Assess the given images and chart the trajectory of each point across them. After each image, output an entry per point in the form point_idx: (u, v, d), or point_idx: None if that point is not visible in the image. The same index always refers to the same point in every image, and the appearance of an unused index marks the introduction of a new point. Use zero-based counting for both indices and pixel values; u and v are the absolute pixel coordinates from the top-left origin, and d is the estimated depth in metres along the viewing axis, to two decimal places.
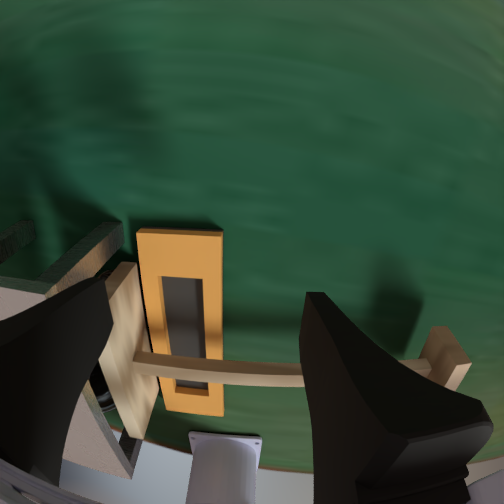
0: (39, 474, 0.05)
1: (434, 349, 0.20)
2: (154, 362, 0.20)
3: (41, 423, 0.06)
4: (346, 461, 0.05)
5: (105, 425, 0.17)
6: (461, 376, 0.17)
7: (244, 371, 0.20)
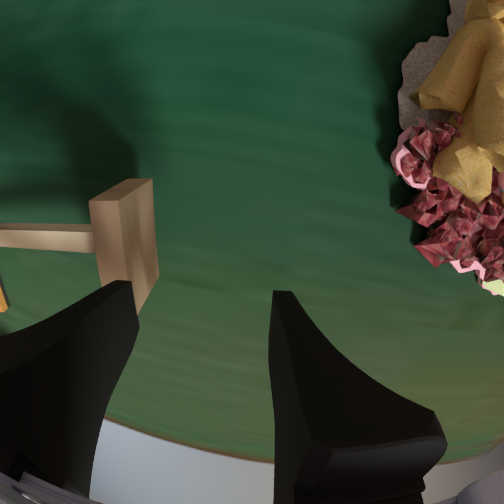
0: (70, 487, 0.05)
1: None
2: None
3: (73, 434, 0.06)
4: (290, 464, 0.05)
5: None
6: (115, 229, 0.13)
7: None
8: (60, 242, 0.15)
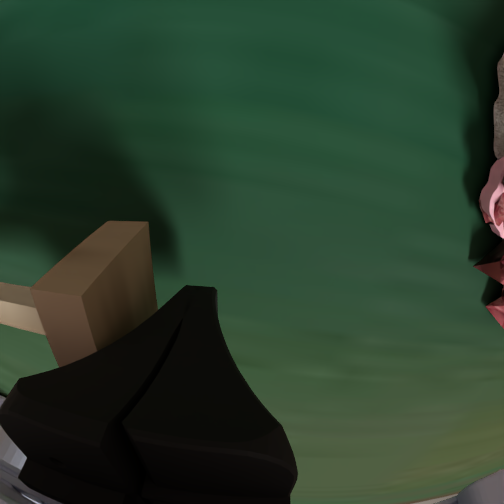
0: None
1: None
2: None
3: None
4: None
5: None
6: (84, 342, 0.06)
7: None
8: (16, 317, 0.09)
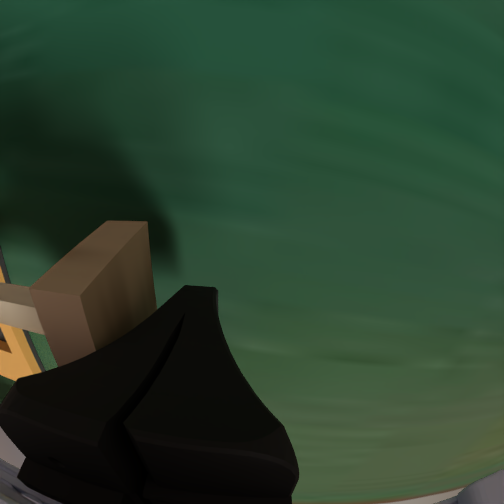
0: None
1: None
2: None
3: None
4: None
5: None
6: (83, 341, 0.06)
7: None
8: (16, 317, 0.09)
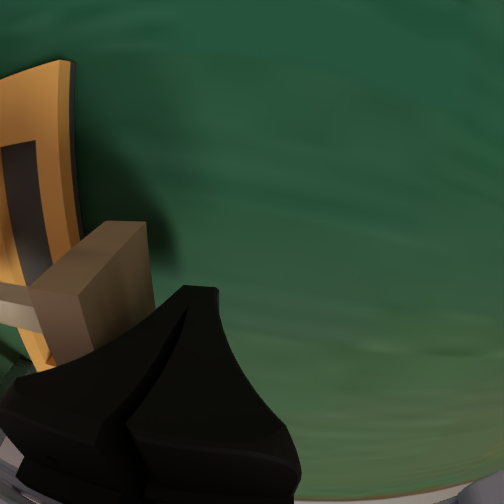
0: None
1: None
2: None
3: None
4: None
5: None
6: (81, 341, 0.06)
7: None
8: (15, 317, 0.09)
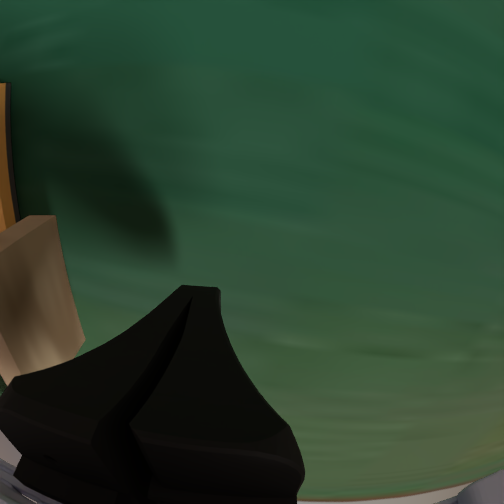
0: None
1: None
2: None
3: None
4: None
5: None
6: None
7: None
8: None
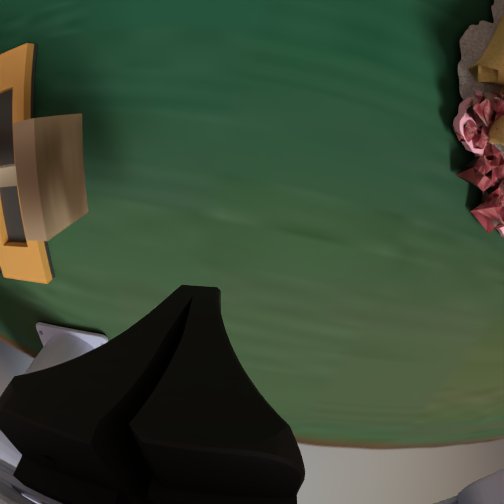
0: None
1: None
2: None
3: None
4: None
5: None
6: (30, 146, 0.11)
7: None
8: (1, 179, 0.14)
